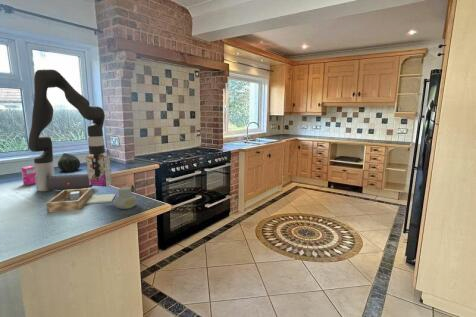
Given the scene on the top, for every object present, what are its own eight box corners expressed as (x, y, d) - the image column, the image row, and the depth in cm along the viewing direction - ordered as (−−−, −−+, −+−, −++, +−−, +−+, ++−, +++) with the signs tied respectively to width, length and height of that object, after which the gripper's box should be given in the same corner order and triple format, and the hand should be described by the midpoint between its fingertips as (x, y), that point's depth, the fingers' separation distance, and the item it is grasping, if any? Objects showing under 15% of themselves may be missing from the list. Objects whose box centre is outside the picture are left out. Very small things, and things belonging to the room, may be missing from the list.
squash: (84, 163, 213) (76, 149, 216) (65, 167, 201) (56, 152, 204) (79, 173, 221) (71, 159, 224) (60, 177, 209) (52, 162, 211)
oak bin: (47, 212, 127) (46, 203, 126) (64, 197, 148) (63, 190, 147) (79, 209, 131) (78, 201, 130) (91, 195, 151) (91, 188, 151)
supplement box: (22, 184, 173) (20, 167, 171) (33, 182, 178) (30, 165, 176) (27, 185, 170) (25, 168, 168) (37, 183, 176) (35, 166, 173)
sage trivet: (86, 204, 138) (86, 202, 138) (92, 196, 150) (92, 195, 150) (111, 202, 141) (111, 200, 141) (115, 195, 153) (115, 193, 153)
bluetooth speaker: (47, 194, 154) (45, 177, 152) (53, 189, 162) (51, 173, 160) (90, 191, 160) (89, 175, 158) (94, 186, 169) (92, 171, 167)
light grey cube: (70, 201, 143) (70, 194, 142) (72, 198, 146) (71, 192, 146) (79, 200, 144) (78, 193, 144) (80, 197, 148) (79, 191, 147)
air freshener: (132, 202, 141) (130, 184, 139) (140, 206, 136) (139, 187, 134) (112, 208, 133) (110, 189, 131) (120, 212, 128) (118, 192, 126)
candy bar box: (88, 185, 143) (85, 156, 140) (94, 183, 148) (92, 154, 145) (106, 187, 140) (103, 156, 138) (112, 184, 145) (110, 155, 142)
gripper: (100, 146, 134) (103, 177, 137) (107, 142, 148) (109, 171, 151) (84, 146, 132) (87, 178, 135) (92, 143, 146) (95, 172, 149)
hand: (99, 174), depth 143 cm, fingers closed on candy bar box, 6 cm apart
